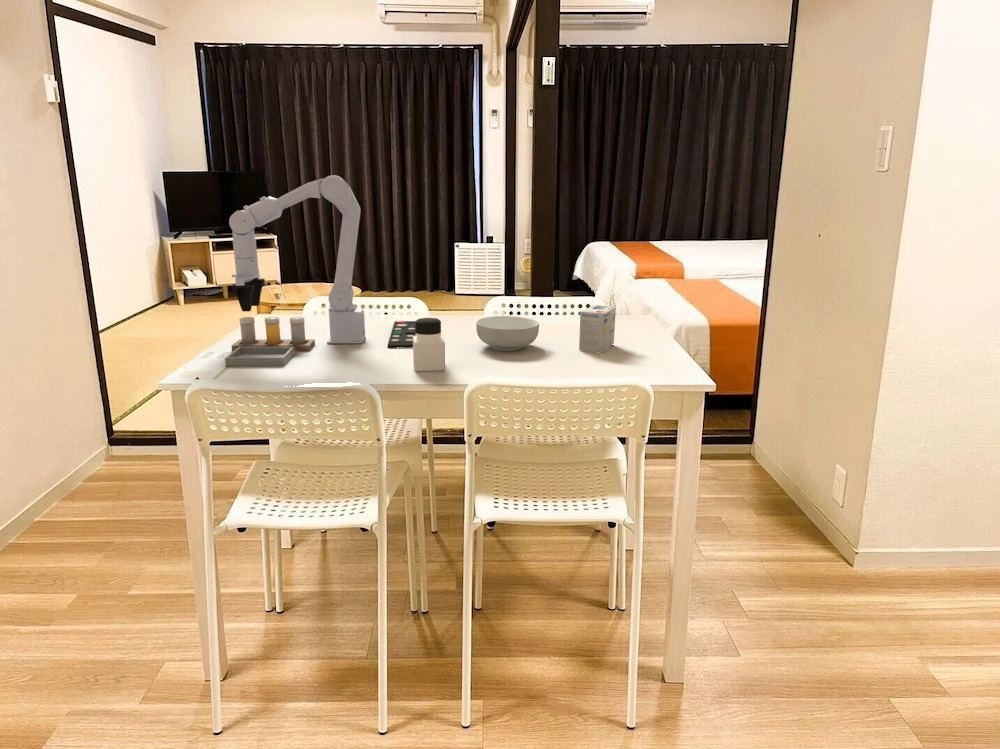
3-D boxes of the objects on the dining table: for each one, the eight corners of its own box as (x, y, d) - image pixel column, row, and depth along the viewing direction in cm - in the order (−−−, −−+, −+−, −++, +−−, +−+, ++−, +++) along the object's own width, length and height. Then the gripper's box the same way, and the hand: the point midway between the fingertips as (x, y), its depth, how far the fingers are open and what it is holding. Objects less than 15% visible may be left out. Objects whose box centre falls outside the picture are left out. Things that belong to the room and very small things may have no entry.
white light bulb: (258, 346, 193) (256, 316, 191) (254, 349, 190) (251, 319, 187) (244, 346, 193) (241, 317, 191) (240, 349, 190) (237, 319, 187)
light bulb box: (591, 342, 200) (593, 304, 197) (614, 345, 198) (616, 306, 195) (578, 350, 191) (579, 310, 188) (602, 353, 188) (604, 313, 185)
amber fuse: (283, 346, 194) (280, 316, 191) (279, 349, 190) (277, 319, 188) (269, 346, 193) (266, 316, 191) (265, 349, 190) (262, 319, 188)
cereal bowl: (509, 358, 183) (509, 331, 181) (463, 347, 194) (463, 321, 192) (551, 347, 195) (552, 321, 193) (505, 337, 206) (505, 313, 204)
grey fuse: (307, 346, 194) (305, 316, 192) (304, 349, 190) (302, 319, 188) (293, 346, 194) (291, 316, 191) (290, 349, 190) (288, 319, 188)
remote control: (431, 325, 223) (431, 319, 222) (429, 349, 194) (429, 342, 193) (394, 326, 222) (394, 319, 221) (387, 350, 193) (387, 343, 192)
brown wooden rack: (315, 344, 195) (314, 339, 195) (309, 351, 189) (309, 345, 188) (240, 344, 195) (239, 339, 194) (231, 351, 188) (231, 345, 187)
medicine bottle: (445, 370, 171) (444, 321, 168) (414, 372, 170) (413, 322, 167) (442, 363, 178) (441, 315, 175) (413, 364, 177) (412, 316, 174)
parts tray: (294, 354, 185) (294, 346, 185) (284, 365, 175) (283, 357, 174) (239, 354, 185) (238, 346, 184) (225, 365, 174) (224, 357, 174)
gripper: (239, 254, 197) (244, 303, 200) (221, 260, 183) (226, 313, 186) (265, 254, 197) (269, 303, 201) (249, 260, 183) (254, 313, 187)
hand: (250, 308), depth 194 cm, fingers open, 7 cm apart
